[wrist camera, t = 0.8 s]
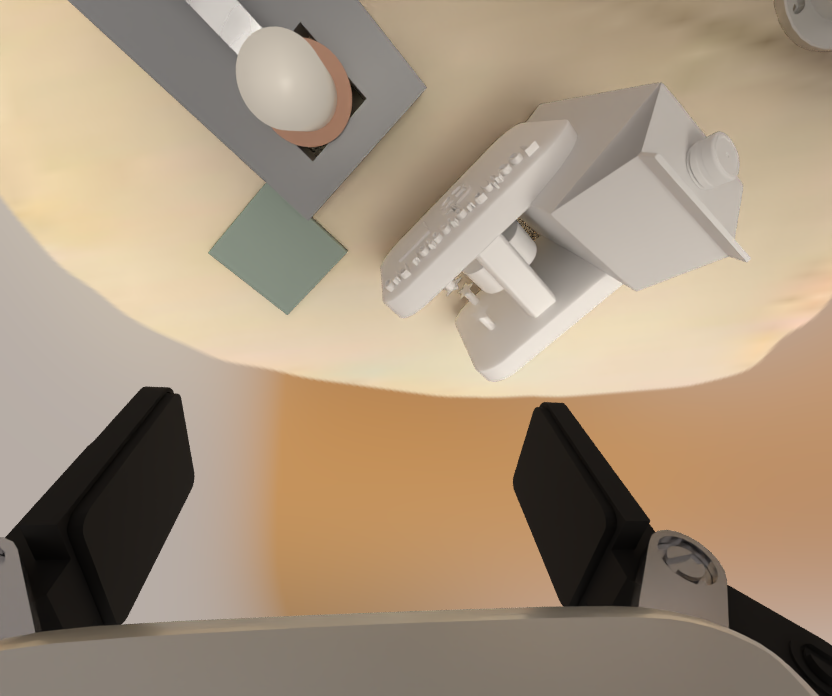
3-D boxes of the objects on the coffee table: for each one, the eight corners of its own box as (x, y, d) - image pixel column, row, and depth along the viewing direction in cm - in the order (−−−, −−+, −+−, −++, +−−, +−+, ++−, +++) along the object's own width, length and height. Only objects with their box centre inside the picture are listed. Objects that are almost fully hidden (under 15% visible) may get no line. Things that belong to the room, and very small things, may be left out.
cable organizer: (455, 331, 39) (485, 401, 29) (374, 255, 35) (375, 306, 24) (583, 215, 35) (671, 249, 25) (508, 114, 31) (577, 104, 20)
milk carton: (538, 234, 36) (684, 321, 19) (478, 183, 33) (588, 231, 17) (597, 163, 34) (823, 192, 17) (538, 103, 31) (735, 66, 14)
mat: (270, 178, 32) (268, 179, 31) (347, 250, 35) (347, 252, 34) (210, 251, 34) (207, 252, 33) (288, 312, 37) (287, 315, 36)
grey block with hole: (202, -180, 23) (171, -238, 19) (420, 93, 30) (427, 87, 26) (93, 4, 26) (49, -17, 22) (314, 211, 33) (308, 221, 30)
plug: (308, 31, 28) (268, -38, 17) (370, 102, 30) (371, 84, 19) (256, 99, 29) (187, 77, 18) (319, 162, 31) (292, 177, 20)
